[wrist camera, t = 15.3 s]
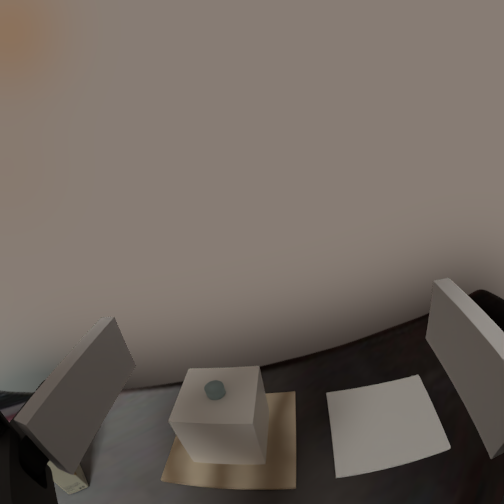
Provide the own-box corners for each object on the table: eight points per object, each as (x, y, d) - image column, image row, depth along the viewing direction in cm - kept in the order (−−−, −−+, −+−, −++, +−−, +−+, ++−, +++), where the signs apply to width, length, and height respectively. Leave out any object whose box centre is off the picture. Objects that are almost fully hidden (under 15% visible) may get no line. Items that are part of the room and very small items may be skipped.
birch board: (295, 393, 44) (295, 391, 43) (296, 488, 27) (295, 486, 27) (191, 397, 46) (190, 394, 46) (162, 481, 29) (160, 479, 29)
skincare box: (90, 487, 27) (42, 439, 23) (69, 496, 24) (18, 449, 20) (79, 460, 31) (37, 410, 28) (59, 468, 29) (15, 420, 25)
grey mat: (418, 376, 40) (418, 374, 40) (449, 449, 25) (450, 447, 25) (326, 394, 42) (326, 392, 42) (335, 478, 27) (336, 477, 27)
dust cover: (269, 411, 40) (257, 359, 37) (265, 464, 31) (250, 417, 27) (207, 412, 42) (186, 362, 38) (193, 461, 32) (164, 414, 29)
